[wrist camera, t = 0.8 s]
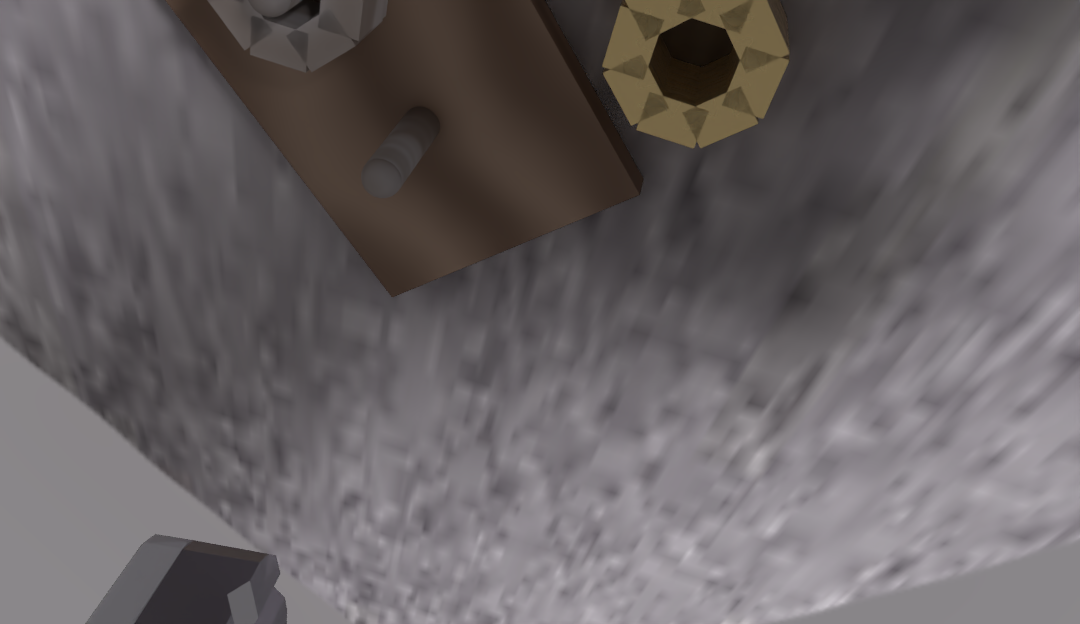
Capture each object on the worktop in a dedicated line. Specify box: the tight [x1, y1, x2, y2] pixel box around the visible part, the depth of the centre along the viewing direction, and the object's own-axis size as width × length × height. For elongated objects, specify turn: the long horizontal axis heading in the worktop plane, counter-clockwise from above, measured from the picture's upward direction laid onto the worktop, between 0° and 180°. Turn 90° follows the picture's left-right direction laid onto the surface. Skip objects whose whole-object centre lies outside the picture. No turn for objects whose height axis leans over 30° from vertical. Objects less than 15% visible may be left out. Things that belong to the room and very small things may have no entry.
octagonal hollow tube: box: [602, 0, 790, 149], centre depth 32 cm, size 6×6×4 cm
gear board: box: [165, 0, 643, 297], centre depth 34 cm, size 14×20×7 cm
